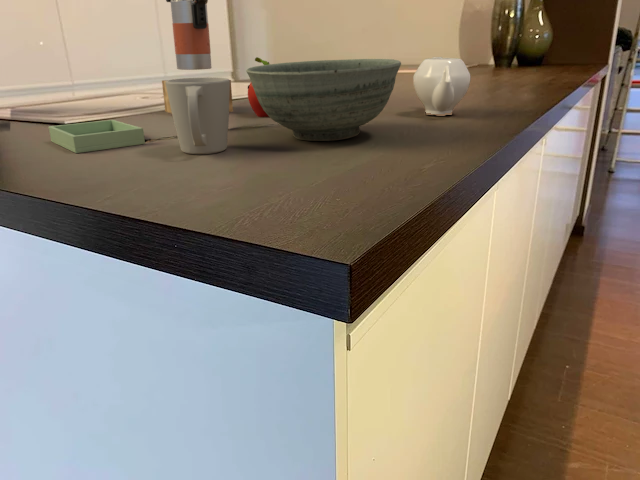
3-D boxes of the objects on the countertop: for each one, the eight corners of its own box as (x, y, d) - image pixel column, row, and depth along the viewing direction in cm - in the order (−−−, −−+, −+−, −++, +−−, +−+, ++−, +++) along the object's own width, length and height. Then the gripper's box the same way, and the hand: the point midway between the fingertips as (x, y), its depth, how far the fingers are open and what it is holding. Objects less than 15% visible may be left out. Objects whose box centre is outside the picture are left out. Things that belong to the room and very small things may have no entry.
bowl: (429, 140, 72) (434, 61, 68) (288, 157, 63) (285, 68, 59) (349, 120, 89) (349, 57, 85) (229, 132, 80) (223, 61, 76)
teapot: (415, 123, 85) (418, 61, 82) (408, 107, 104) (411, 56, 101) (476, 123, 84) (482, 61, 81) (459, 107, 103) (463, 56, 100)
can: (170, 68, 96) (164, 1, 92) (201, 67, 100) (196, 2, 96) (186, 70, 92) (180, -1, 88) (218, 68, 95) (213, 0, 91)
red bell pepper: (296, 118, 93) (294, 56, 89) (267, 123, 88) (264, 58, 84) (265, 114, 97) (262, 56, 94) (237, 119, 93) (232, 57, 89)
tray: (51, 141, 75) (48, 126, 74) (115, 133, 80) (113, 119, 80) (76, 153, 67) (73, 136, 66) (145, 143, 72) (143, 128, 72)
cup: (236, 143, 71) (232, 76, 68) (230, 159, 62) (225, 83, 59) (178, 145, 71) (171, 78, 68) (164, 161, 62) (154, 84, 59)
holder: (165, 114, 99) (161, 80, 97) (209, 110, 104) (206, 77, 102) (188, 119, 92) (184, 83, 90) (233, 114, 98) (230, 79, 96)
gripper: (141, -78, 90) (153, 29, 96) (180, -93, 80) (190, 28, 86) (182, -73, 95) (191, 29, 101) (224, -87, 84) (231, 28, 90)
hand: (191, 28), depth 93 cm, fingers closed on can, 6 cm apart
